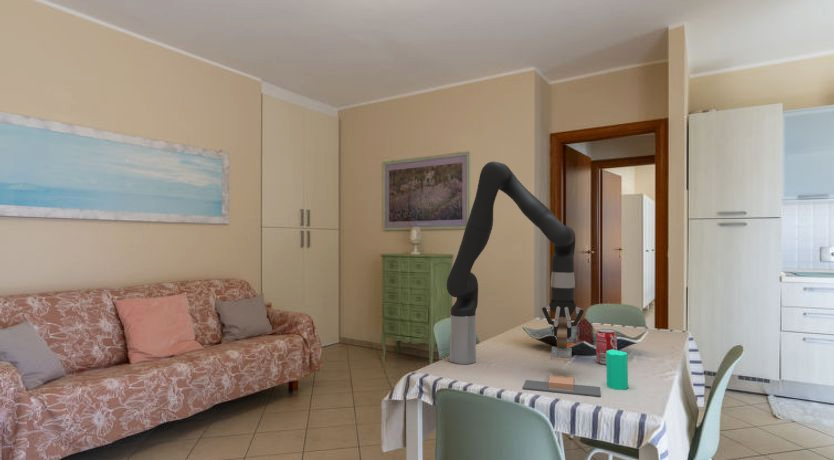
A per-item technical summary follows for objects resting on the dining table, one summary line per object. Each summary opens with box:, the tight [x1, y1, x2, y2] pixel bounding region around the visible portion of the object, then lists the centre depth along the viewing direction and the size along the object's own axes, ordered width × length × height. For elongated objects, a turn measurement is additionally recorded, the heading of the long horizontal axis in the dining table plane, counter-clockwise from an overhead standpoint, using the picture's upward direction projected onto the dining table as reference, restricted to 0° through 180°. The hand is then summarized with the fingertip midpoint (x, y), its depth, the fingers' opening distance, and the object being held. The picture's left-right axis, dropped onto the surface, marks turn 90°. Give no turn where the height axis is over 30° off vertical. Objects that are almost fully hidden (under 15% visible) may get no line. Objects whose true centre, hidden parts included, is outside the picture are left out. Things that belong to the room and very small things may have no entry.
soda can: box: [595, 328, 618, 366], centre depth 170 cm, size 7×7×12 cm
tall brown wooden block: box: [550, 316, 573, 362], centre depth 153 cm, size 19×6×4 cm, turn 160°
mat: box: [522, 379, 602, 398], centre depth 141 cm, size 22×8×1 cm, turn 70°
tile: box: [548, 374, 575, 391], centre depth 142 cm, size 7×2×8 cm
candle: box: [605, 346, 629, 391], centre depth 143 cm, size 6×6×12 cm
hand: (562, 337), depth 155 cm, fingers closed on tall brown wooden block, 3 cm apart
